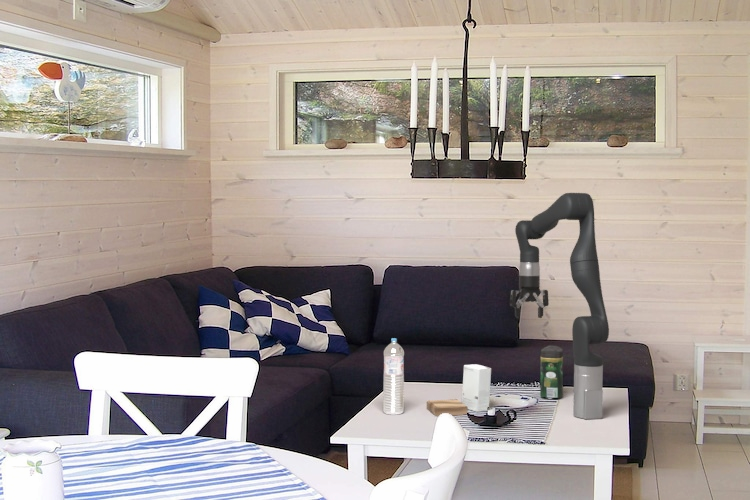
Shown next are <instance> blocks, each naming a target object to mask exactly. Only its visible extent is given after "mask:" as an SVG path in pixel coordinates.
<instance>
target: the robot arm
mask: <svg viewBox="0 0 750 500" xmlns="http://www.w3.org/2000/svg"><path fill="white" fill-rule="evenodd" d="M594 206H595V205H594V201H593V197H592V196H591V195H590V194H589V193H588V192H587V193H586V192H567V193H566V192H565V193H563V194H562V195H560V196H559V197H558V198H556V200H554V202H553V203H552V204H551V205H550V206H549V207H548V208H547V209H544V211H542V212H541V213H537V215H534V217H533V218H532V219H531V220H528V219H526V220H519V221H518V222H517V223H516V226H515V229H514V230H515V231H514V232H515V236H516V240H517V243H518V248H519V268H518V270H519V271H518V278H519V279H518V290H514V289H511V290H510V296H509V297H510V298H509V306H510V307H513V308H514V317H515V318H516V319H521V306H522V305H523V304H524V303H529V302H532V303H536V305H537V306H538V307H537V318H539V319H542V318H543V316H544V308H545V307H549V290H548V289H540V288H541V286H540V285H541V281H540V280H541V279H540V278H541V277H540V276H541V275H540V274H541V272H540V270H541V267H540V248H539V247H538V246H536V245H531V244H530V241H529V240H540V239H542V238H543V237H544V236H545V235H546V233H548V232H550V231H551V230H553V229H555V228H556V227H557V226H558V224H559V221H561V220H567V221H578V224H579V235H578V238H577V241H576V243H575V244H574V247H573V248H572V249H573V250H572V252H571V254H570V257H569V266H570V274H571V279H572V281H573V283H574V285H575V286H576V287H577V289H578V290H579V292H580V293H581V294H582V295H583V298H585V299H584V300H586V302H587V304H588V305H587V306H588V308H589V312H590V315H586V316H585V315H584V316H580V315H579V316H577V317H576V318H575V319H574V320H573V323H572V330H571V331H572V333H571V334H572V354H573V355H572V356H573V362H574V363H573V405H572V406H573V412H572V413H573V414H572V415H573V417H576V418H580V419H584V420H593V419H594V420H595V419H597V420H598V419H603V400H604V399H603V393H604V392H603V391H604V390H603V378H604V377H603V373H604V370H603V369H604V359H603V356H601V355H600V354H597V353H594V352H592V351H591V350H590V345H597V344H605V343H606V342H607V341H608V339H609V334H610V328H609V321H608V316H607V311H606V307H605V303H604V298H603V297H604V296H603V290H602V285H601V284H602V283H601V277H600V276H601V274H600V273H601V272H600V265H599V259H598V258H599V257H598V252H597V243H596V231H595V230H596V229H595V228H596V227H595V207H594ZM540 295H541V296H542V300H541V299H540V297H539V296H540ZM518 296H519V297H518ZM516 297H518V299H517V301H516Z"/></svg>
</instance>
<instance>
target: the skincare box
mask: <svg viewBox="0 0 750 500" xmlns="http://www.w3.org/2000/svg"><path fill="white" fill-rule="evenodd" d="M491 375H492V368H491V367H488V366H484V365H481V364H476V363H474V364H464V365H463V375H462V376H463V377H462V389H461V390H462V392H461V403H463V404H464V405H466V406H467V407H468V410H470V411H473V412H479V413H480V412H485V411H488V410H487V407H489V408H490V398H491V397H490V395H491V378H492V376H491Z"/></svg>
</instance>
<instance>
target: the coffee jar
mask: <svg viewBox="0 0 750 500" xmlns="http://www.w3.org/2000/svg"><path fill="white" fill-rule="evenodd" d="M563 378H564V350H563V348H562V347H560V346H559V345H547V346H545V347H543V348H542V349H541V350H540V386H539V387H540V389H539V390H540V392H539V394H540V395H539V396H540V398H542V397H546V398H560V399H561V398H562V397H563V394H564V393H563V392H564V386H563V383H564V382H563V381H564V380H563ZM546 398H545V399H546Z"/></svg>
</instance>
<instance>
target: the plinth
mask: <svg viewBox="0 0 750 500" xmlns="http://www.w3.org/2000/svg"><path fill="white" fill-rule="evenodd" d="M426 410H427V411H428V412H430V413H431V414H432V415H433V416H434V417H440V416H439V415H440V414H442V413H449V414H452V416H464V415H463V414H467V413H468V412H469V411H468V410H469V409H468V407H467V406H466V405H464V404H463V403H462V401H460V400H458V399H456V398H454V399H451V398H450V399H431V400H430V399H429V400H428V401H426Z"/></svg>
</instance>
